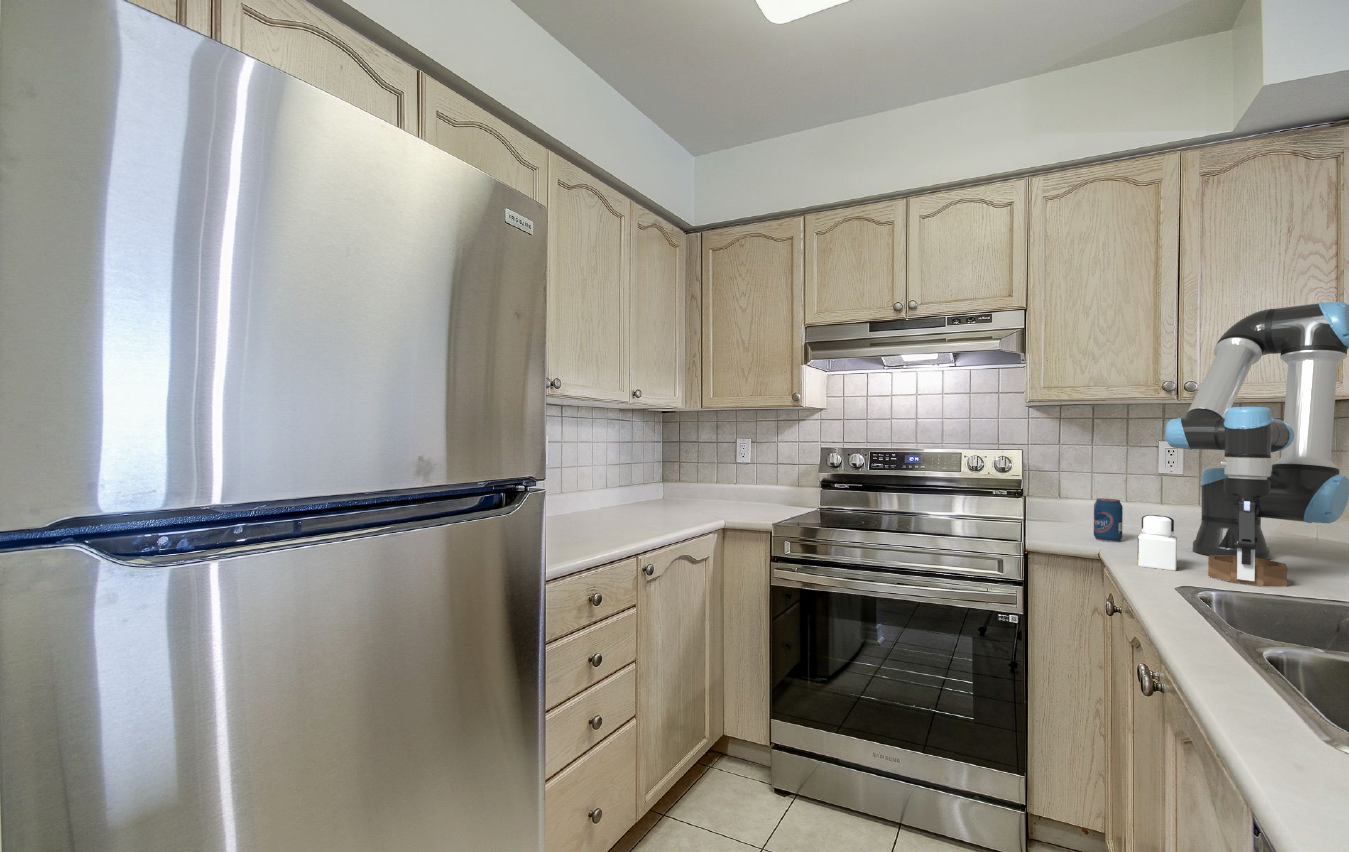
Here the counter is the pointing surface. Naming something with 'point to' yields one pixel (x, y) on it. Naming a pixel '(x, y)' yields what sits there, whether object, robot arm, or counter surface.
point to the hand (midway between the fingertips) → (1245, 575)
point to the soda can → (1108, 520)
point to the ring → (1264, 571)
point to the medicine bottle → (1157, 543)
